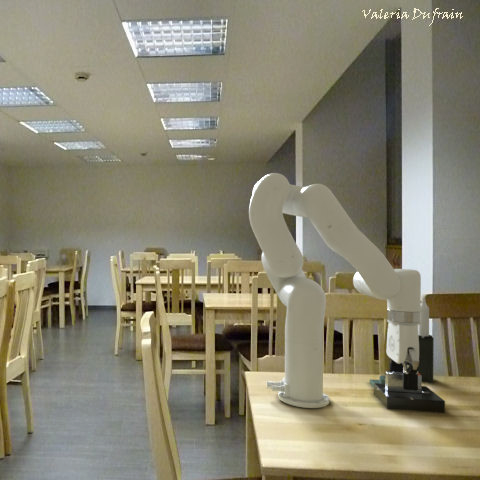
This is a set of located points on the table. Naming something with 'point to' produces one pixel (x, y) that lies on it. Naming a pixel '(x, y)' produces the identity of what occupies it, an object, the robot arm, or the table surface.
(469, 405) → the table surface
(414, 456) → the table surface
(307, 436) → the table surface
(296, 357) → the robot arm
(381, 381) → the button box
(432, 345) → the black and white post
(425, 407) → the panel
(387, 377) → the grey rectangular block
